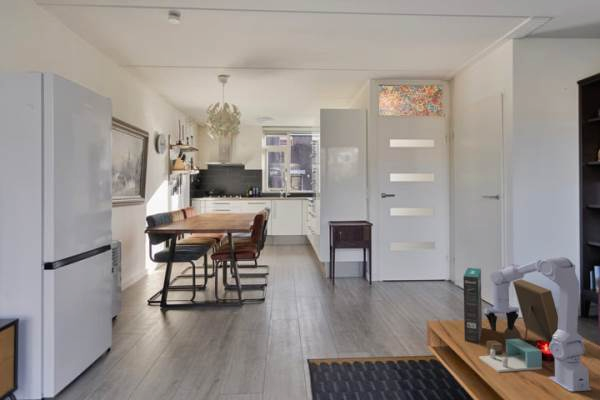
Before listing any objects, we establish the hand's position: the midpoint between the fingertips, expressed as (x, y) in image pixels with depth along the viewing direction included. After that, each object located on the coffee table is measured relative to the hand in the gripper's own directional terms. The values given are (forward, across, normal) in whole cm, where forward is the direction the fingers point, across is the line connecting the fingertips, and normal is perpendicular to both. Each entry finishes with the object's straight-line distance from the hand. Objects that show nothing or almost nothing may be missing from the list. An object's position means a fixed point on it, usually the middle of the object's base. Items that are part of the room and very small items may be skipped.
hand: (501, 329), depth 153 cm
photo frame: (+10, -24, -13) cm, 29 cm away
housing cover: (+9, -2, +10) cm, 13 cm away
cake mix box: (+10, 0, -21) cm, 24 cm away
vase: (+10, -10, -6) cm, 15 cm away
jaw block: (+10, +4, +1) cm, 11 cm away
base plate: (+10, +4, +10) cm, 14 cm away
